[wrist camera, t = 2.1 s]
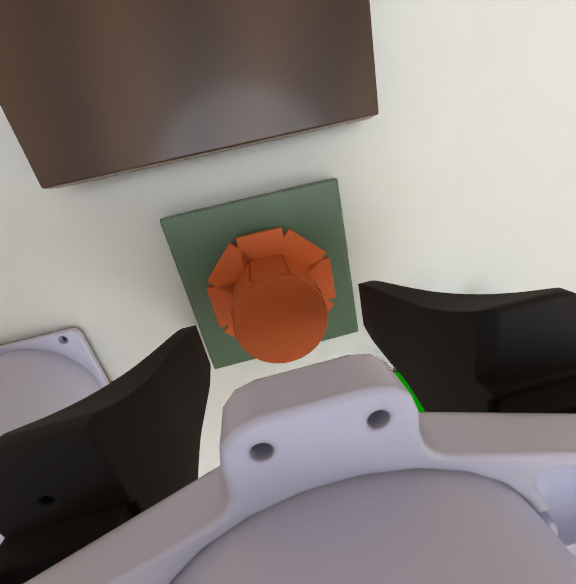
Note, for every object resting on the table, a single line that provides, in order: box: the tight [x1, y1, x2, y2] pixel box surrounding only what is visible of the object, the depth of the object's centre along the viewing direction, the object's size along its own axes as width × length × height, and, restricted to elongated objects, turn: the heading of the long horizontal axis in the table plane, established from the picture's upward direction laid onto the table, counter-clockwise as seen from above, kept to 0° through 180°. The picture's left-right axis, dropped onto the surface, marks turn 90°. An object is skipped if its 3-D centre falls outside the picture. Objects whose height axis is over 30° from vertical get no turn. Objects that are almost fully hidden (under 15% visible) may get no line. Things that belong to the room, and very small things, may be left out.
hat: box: [207, 227, 336, 363], centre depth 15 cm, size 7×7×4 cm
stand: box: [0, 0, 378, 189], centre depth 13 cm, size 16×11×2 cm
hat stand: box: [160, 178, 358, 369], centre depth 16 cm, size 10×10×6 cm
